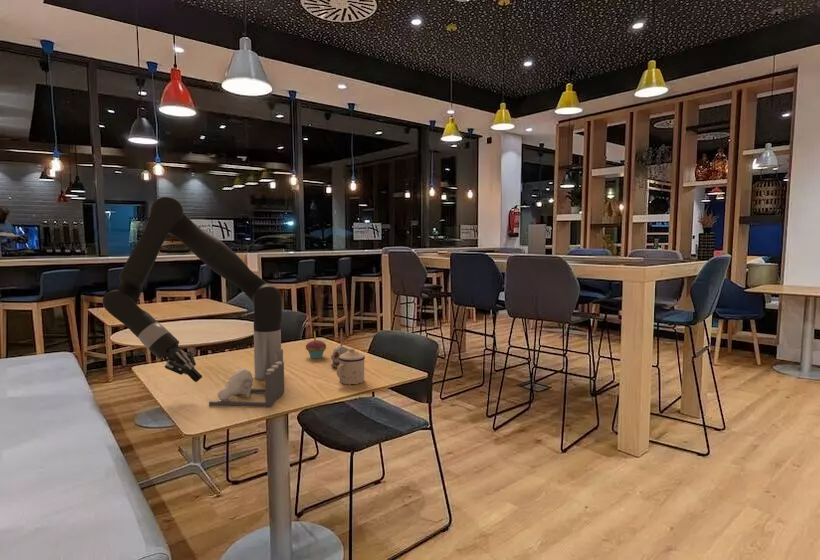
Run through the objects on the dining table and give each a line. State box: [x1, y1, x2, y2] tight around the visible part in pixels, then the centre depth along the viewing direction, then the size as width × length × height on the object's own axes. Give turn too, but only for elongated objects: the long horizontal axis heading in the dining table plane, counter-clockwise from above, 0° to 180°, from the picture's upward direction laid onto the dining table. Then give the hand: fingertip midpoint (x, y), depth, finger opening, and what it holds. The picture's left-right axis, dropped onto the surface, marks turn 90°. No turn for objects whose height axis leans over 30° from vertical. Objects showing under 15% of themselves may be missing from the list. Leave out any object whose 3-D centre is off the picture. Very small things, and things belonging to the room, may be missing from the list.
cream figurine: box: [217, 368, 255, 401], centre depth 143 cm, size 6×8×12 cm
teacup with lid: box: [336, 347, 366, 386], centre depth 160 cm, size 12×9×12 cm
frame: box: [208, 361, 285, 409], centre depth 143 cm, size 19×14×11 cm
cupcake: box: [305, 329, 327, 359], centre depth 193 cm, size 9×8×12 cm
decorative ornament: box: [330, 328, 350, 368], centre depth 180 cm, size 8×8×15 cm
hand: (199, 379), depth 143 cm, fingers closed
